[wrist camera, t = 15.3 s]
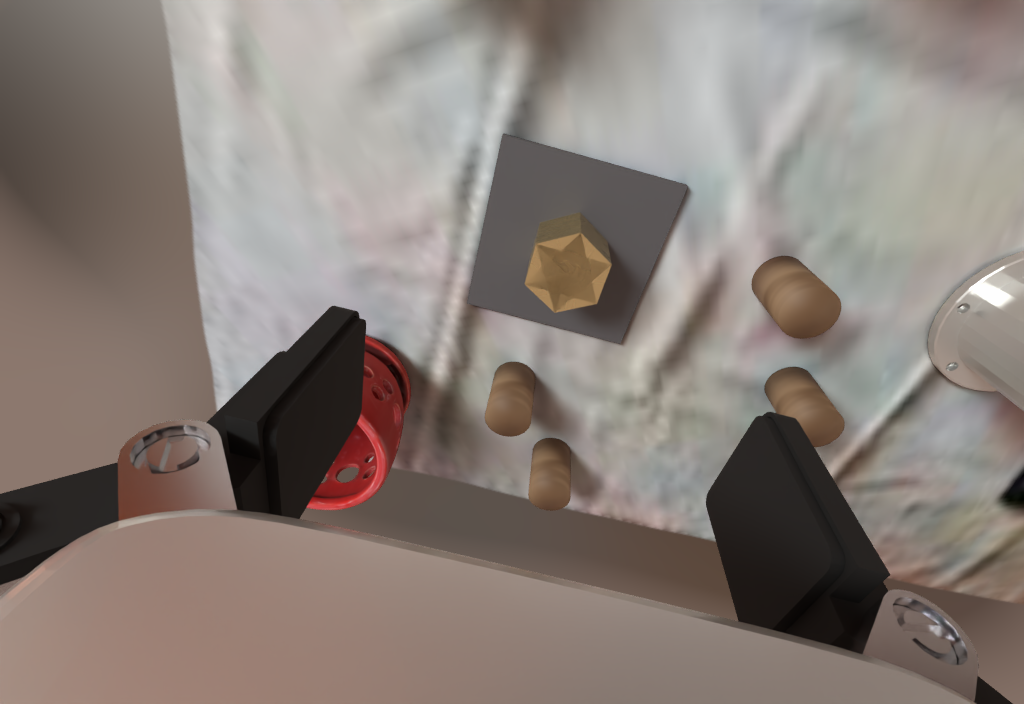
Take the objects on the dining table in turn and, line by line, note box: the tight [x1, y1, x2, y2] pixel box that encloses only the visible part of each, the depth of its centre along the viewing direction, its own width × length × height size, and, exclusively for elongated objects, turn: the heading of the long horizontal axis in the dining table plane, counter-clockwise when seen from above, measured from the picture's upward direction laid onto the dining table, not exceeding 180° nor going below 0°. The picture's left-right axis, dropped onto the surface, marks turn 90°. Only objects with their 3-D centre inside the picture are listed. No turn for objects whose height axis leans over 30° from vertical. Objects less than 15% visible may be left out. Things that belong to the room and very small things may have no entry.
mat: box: [467, 134, 688, 344], centre depth 39 cm, size 14×14×1 cm
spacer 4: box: [765, 367, 844, 447], centre depth 41 cm, size 4×4×6 cm
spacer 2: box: [528, 438, 571, 511], centre depth 49 cm, size 4×4×6 cm
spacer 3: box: [752, 256, 841, 339], centre depth 36 cm, size 4×4×6 cm
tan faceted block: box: [525, 212, 612, 313], centre depth 37 cm, size 6×6×5 cm
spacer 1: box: [485, 362, 535, 436], centre depth 44 cm, size 4×4×6 cm
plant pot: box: [306, 336, 411, 510], centre depth 43 cm, size 13×13×12 cm
